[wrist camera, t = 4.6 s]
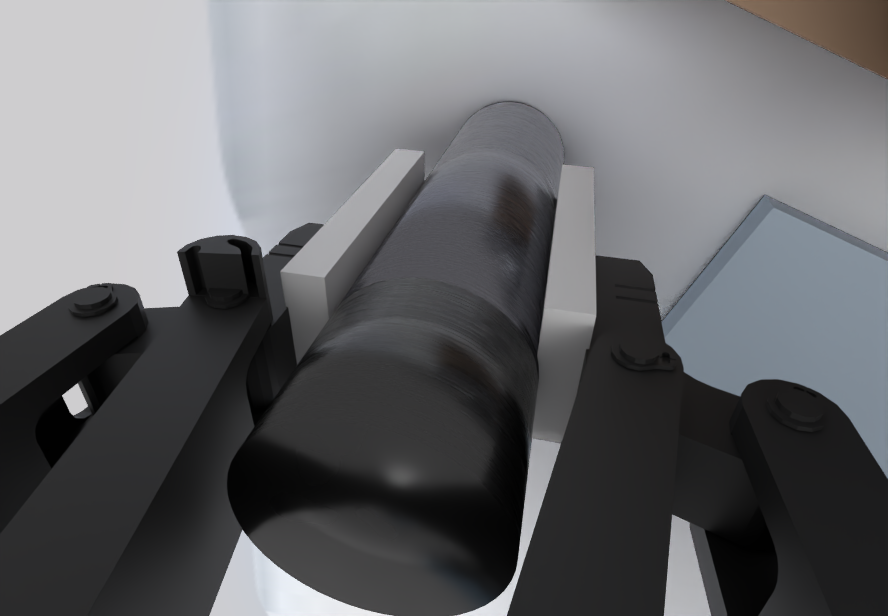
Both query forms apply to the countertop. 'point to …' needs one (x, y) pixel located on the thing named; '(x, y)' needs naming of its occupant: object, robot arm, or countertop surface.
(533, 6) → the countertop surface
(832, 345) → the mat
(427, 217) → the cylinder
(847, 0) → the base
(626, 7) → the countertop surface
